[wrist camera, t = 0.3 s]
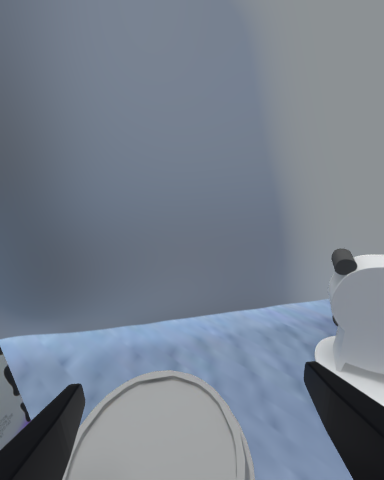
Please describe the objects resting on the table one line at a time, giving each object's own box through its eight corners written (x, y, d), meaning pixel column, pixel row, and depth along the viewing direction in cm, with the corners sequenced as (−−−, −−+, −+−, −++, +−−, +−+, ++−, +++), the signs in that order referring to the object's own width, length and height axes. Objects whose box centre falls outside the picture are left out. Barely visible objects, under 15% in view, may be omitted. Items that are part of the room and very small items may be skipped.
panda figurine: (415, 353, 29) (450, 247, 24) (471, 447, 19) (546, 301, 15) (313, 329, 34) (326, 238, 30) (316, 393, 24) (337, 273, 20)
